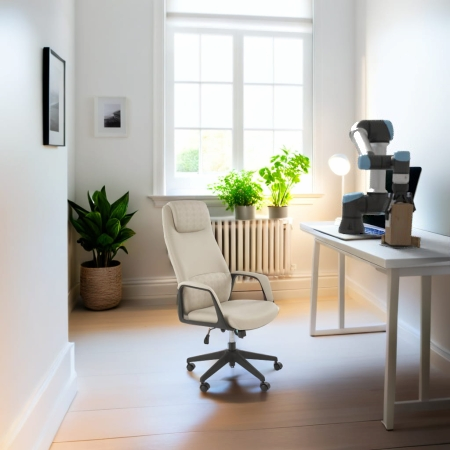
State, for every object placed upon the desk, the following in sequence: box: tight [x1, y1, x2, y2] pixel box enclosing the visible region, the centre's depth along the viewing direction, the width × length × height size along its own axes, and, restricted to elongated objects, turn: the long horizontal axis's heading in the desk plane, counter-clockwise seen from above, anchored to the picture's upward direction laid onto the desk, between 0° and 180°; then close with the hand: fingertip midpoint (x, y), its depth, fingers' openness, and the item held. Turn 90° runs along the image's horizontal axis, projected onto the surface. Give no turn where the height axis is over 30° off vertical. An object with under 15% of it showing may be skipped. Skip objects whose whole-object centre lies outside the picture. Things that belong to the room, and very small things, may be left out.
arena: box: [378, 233, 421, 250], centre depth 248 cm, size 15×14×5 cm
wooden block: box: [384, 202, 414, 245], centre depth 246 cm, size 10×10×20 cm
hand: (398, 226), depth 246 cm, fingers closed on wooden block, 13 cm apart
